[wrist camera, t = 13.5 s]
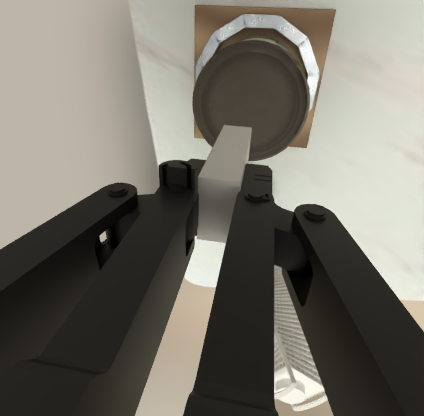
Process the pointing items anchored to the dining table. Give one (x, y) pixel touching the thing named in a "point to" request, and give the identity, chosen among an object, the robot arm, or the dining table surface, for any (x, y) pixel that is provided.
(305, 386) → the skyscraper
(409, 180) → the dining table surface
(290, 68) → the coffee can
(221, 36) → the collar
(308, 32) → the board
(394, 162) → the dining table surface
